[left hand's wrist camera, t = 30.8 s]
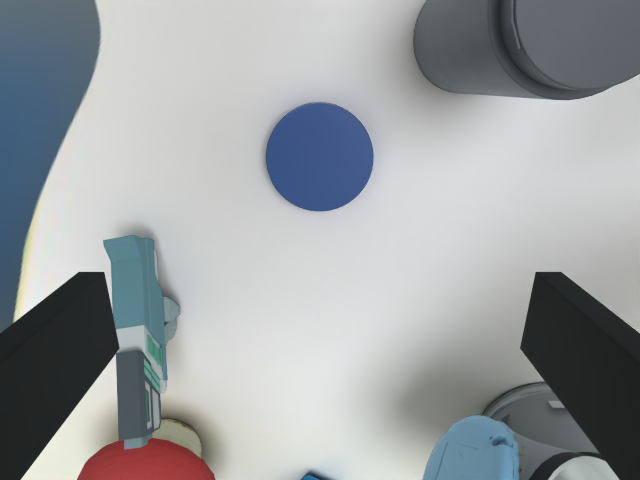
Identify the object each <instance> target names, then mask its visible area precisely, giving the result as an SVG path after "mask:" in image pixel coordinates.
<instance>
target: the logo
mask: <svg viewBox="0 0 640 480" xmlns="http://www.w3.org/2000/svg"><path fill="white" fill-rule="evenodd" d="M302 480H319V479H317V478H315V477H313V476H310V475H306V476H305V477H304V478H303V479H302Z"/></svg>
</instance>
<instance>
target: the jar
mask: <svg viewBox="0 0 640 480" xmlns="http://www.w3.org/2000/svg"><path fill="white" fill-rule="evenodd" d="M414 52H415V56H416V60H417V63H418V65H419V67H420V69H421V71H422V72H423V74H424V75H425V76H426V78H427V79H428V80H429V81H430V82H431V83H433V84H434V85H436V86H437V87H439V88H441V89H443V90H446V91H449V92H454V93H465V94H479V95H493V96H508V97H522V98H537V99H551V100H573V99H580V98H584V97H588V96H592V95H595V94H597V93H600V92H603V91H605V90H607V89H609V88H610V87H612V86H615V85H617V84H620V83H622V82H625V81H627V80H629V79H631V78H633V77H635V76H637V75H638V74H640V0H427V1H426V3H425V4H424V6H423V8H422V9H421V12H420V14H419V16H418V19H417V22H416V25H415V30H414Z"/></svg>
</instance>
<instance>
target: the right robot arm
mask: <svg viewBox="0 0 640 480" xmlns="http://www.w3.org/2000/svg"><path fill="white" fill-rule="evenodd" d="M423 480H619V478H618V477H617V476H616V474H615V473H614V472H613V470H612V469H611V468H610V466H609V465H608V464H607V463H606V461H605V460H604V459H603V457H602V456H601V455H600V453H599V452H598V451H597V449H596V448H595V447H594V445H593V444H592V443H591V441H590V440H589V439H588V437H587V436H586V435H585V433H584V432H583V431H582V429H581V428H580V427H579V425H578V424H577V423H576V421H575V420H574V419H573V418H572V416H571V415H570V414H569V412H568V411H567V410H566V408H565V407H564V406H563V404H562V403H561V402H560V400H559V399H558V398H557V396H556V395H555V394H554V392H553V391H552V390H551V388H550V387H549V386H548V384H547V383H537V384H531V385H526V386H523V387H520V388H517V389H514V390H512V391H510V392H508V393H506V394H504V395H503V396H501V397H500V398H498V399H497V400H496V401H494V402H493V403H492V404H491V405H490V406H489V407H488V408H487V409H486V410H485V412H484V413H483V415H482V416H481V415H473V416H468V417H465V418H463V419H461V420H459V421H457V422H456V423H454V424H453V425H452V426H451V427H450V428H449V429H448V431H447V432H446V433H445V434H444V435H442V436H441V438H440V439H439V441H438V442H437V444H436V445H435V447H434V449H433V451H432V453H431V455H430V457H429V460H428V462H427V465H426V468H425V472H424V476H423Z"/></svg>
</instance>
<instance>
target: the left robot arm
mask: <svg viewBox="0 0 640 480" xmlns="http://www.w3.org/2000/svg"><path fill="white" fill-rule="evenodd" d="M119 349H120V347H119V342H118V337H117V332H116V327H115V323H114V318H113V313H112V308H111V303H110V298H109V293H108V288H107V283H106V279H105V274H104V272H78V273H77V274H76V275H75V276H73V277H72V278H71V279H69V280H68V281H67V282H66V283H64V284H63V285H62V286H60V287H59V288H58V289H57V290H55V291H54V292H53V293H52V294H50V295H49V296H48V297H46V298H45V299H44V300H43V301H41V302H40V303H39V304H37V305H36V306H35V307H34V308H32V309H31V310H30V311H29V312H27V313H26V314H25V315H23V316H22V317H21V318H20V319H18V320H17V321H16V322H14V323H13V324H12V325H11V326H9V327H8V328H7V329H6V330H4V331H3V332H2V333H0V480H21V478H22V477H23V476H24V474H25V473H26V472H27V470H28V469H29V468H30V466H31V465H32V464H33V463H34V461H35V460H36V459H37V457H38V456H39V455H40V453H41V452H42V451H43V449H44V448H45V447H46V445H47V444H48V443H49V441H50V440H51V439H52V437H53V436H54V435H55V433H56V432H57V431H58V429H59V428H60V427H61V425H62V424H63V423H64V421H65V420H66V419H67V418H68V416H69V415H70V414H71V412H72V411H73V410H74V408H75V407H76V406H77V404H78V403H79V402H80V400H81V399H82V398H83V396H84V395H85V394H86V392H87V391H88V390H89V388H90V387H91V386H92V384H93V383H94V382H95V380H96V379H97V378H98V376H99V375H100V374H101V373H102V371H103V370H104V369H105V367H106V366H107V365H108V363H109V362H110V361H111V359H112V358H113V357H114V355H115V354H116V353H117V351H118V350H119ZM520 349H521V350H522V351H523V353H524V354H525V355H526V357H527V358H528V359H529V361H530V362H531V363H532V365H533V366H534V367H535V369H536V370H537V371H538V373H539V374H540V375H541V377H542V378H543V379H544V380H545V382H546V383H547V384H548V386H549V387H550V388H551V390H552V391H553V392H554V394H555V395H556V396H557V398H558V399H559V400H560V402H561V403H562V404H563V406H564V407H565V408H566V410H567V411H568V412H569V414H570V415H571V416H572V418H573V419H574V420H575V421H576V423H577V424H578V425H579V427H580V428H581V429H582V431H583V432H584V433H585V435H586V436H587V437H588V439H589V440H590V441H591V443H592V444H593V445H594V447H595V448H596V449H597V451H598V452H599V453H600V455H601V456H602V457H603V459H604V460H605V461H606V463H607V464H608V465H609V466H610V468H611V469H612V470H613V472H614V473H615V474H616V476H617V477H618V478H619V480H640V333H638V332H637V331H636V330H634V329H633V328H632V327H631V326H629V325H628V324H627V323H626V322H624V321H623V320H622V319H620V318H619V317H618V316H617V315H615V314H614V313H613V312H611V311H610V310H609V309H608V308H606V307H605V306H604V305H603V304H601V303H600V302H599V301H597V300H596V299H595V298H594V297H592V296H591V295H590V294H588V293H587V292H586V291H585V290H583V289H582V288H581V287H580V286H578V285H577V284H576V283H574V282H573V281H572V280H571V279H569V278H568V277H567V276H565V275H564V274H563V273H562V272H536V274H535V279H534V283H533V288H532V293H531V298H530V303H529V308H528V313H527V318H526V323H525V327H524V332H523V337H522V342H521V347H520Z"/></svg>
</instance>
